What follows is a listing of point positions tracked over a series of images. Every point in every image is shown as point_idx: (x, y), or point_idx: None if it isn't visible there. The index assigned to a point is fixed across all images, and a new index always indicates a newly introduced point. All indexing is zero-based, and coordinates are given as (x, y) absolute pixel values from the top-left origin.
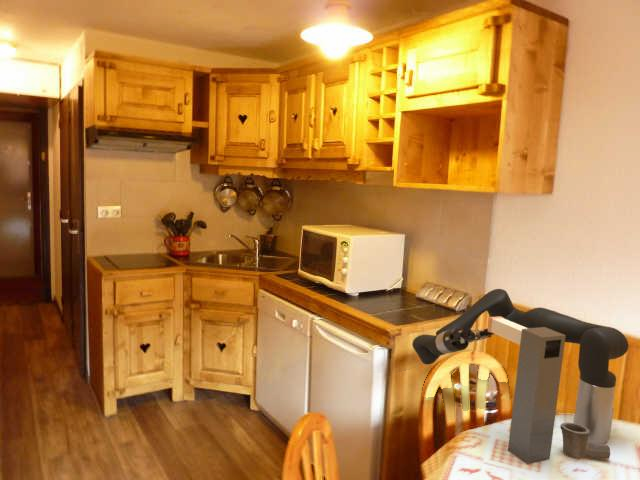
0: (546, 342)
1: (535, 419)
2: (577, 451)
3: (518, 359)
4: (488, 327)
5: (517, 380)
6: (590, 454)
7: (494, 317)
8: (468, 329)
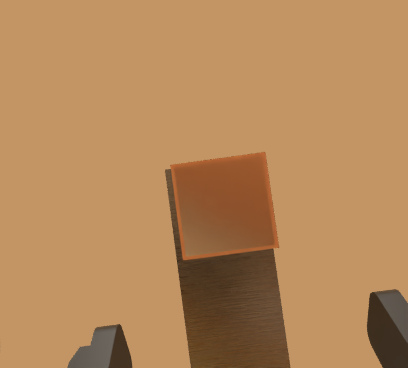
0: None
1: None
2: None
3: (274, 259)
4: (274, 220)
5: (283, 327)
6: None
7: (230, 158)
8: (399, 294)
